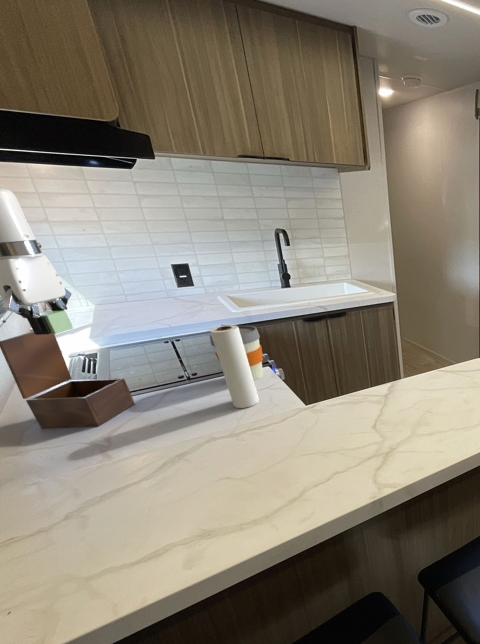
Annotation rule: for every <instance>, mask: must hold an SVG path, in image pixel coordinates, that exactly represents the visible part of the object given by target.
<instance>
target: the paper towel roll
mask: <svg viewBox="0 0 480 644" xmlns="http://www.w3.org/2000/svg"><path fill="white" fill-rule="evenodd" d="M238 326H239V325H234V324H221V325H220V326H217V327H214V328H212V329H210V330H209V332H210V333H211V335H212V338H213V342H214V345H215V348H216V351H217V354H218V357H219V360H218V362H219V361H220V362H219V364H221V365H220V367H221V369H222V374H223V376H224V379H225V383H226V386H227V389H228V391H229V394H230V398H231V401H232V402H231V403H232V405H233V407H234V408H237V409H244V408H245V409H246V408H250V407H253V406H256V405H257V404H258V403H259V402H260V398H259V394H258V391H257V387H256V383H255V381H254V380H253V377H252V373H251V370H250V366H249V363H248V359H247V356H246V352H245V349H244V345H243V342H242V338H241V335H240V331H239V328H238ZM216 351H215V352H216Z"/></svg>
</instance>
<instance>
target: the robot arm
mask: <svg viewBox="0 0 480 644" xmlns="http://www.w3.org/2000/svg"><path fill="white" fill-rule="evenodd" d="M41 249H42V244H41V243H40V242H38V241H37V239H36V237H35V235H34V233H33V231H32V228H31V226H30V224H29V221H28V220H27V217H26V216H25V213H24V210H23V209H22V206H21V204H20V202H19V200H18V198H17V196H16V195H15V193H14V192H13V191H12V190H10V189H7V188H3V187H0V298H1V300H2V301H3V303H2V304H3V305H2V309H3V310H4V311H8V312H12V313H14V314H17V315H19V316H20V317H22V318H23V319H26V320H27V322H28V324H29V325H30V327H31V329H32V332H33V331H34V333H35V334H36V335H45V334H51V331H50V329H49V327H48V324H47V322H46V320H45V318H44V317H40V313H41V312H40V309H39V305H38V304H41V303H45V304H46V306H47V307H48V308H49V310H50V311H65V312H66V311H67V310H68V307H67V305H68V302H69V299H70V298H71V297H72V292H71V291H70V290H69V289H67V288H65V286H64V283H63V281H62V279H61V278H60V276H59V274H58V272H57V270H56V269H55V267H54V266H53V264H52V262H51V261H50V259H49V258H48V257H47V255H46V254H43V252H42V250H41ZM66 313H67V312H66ZM70 323H71V325H72V322H71V321H70ZM72 326H73V325H72Z"/></svg>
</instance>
